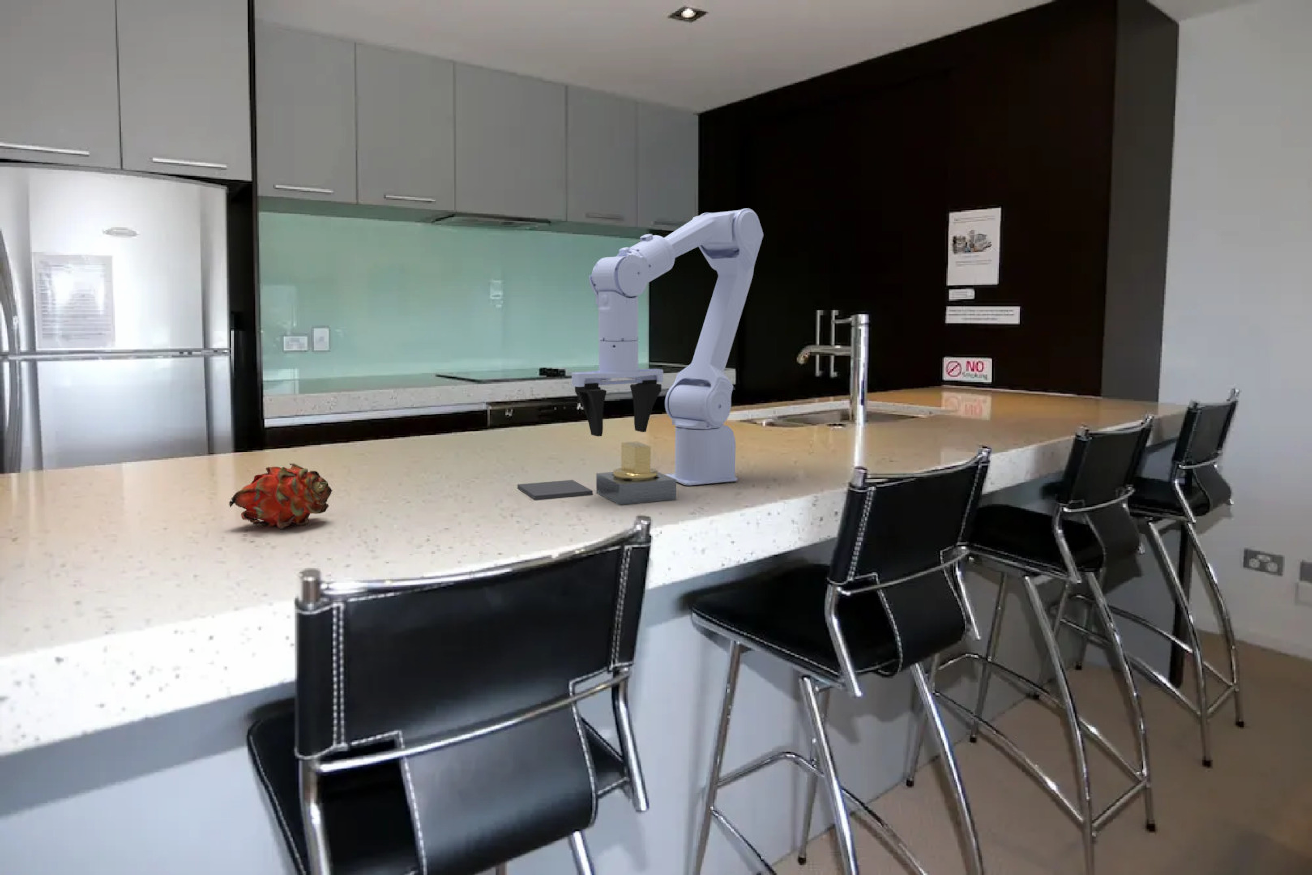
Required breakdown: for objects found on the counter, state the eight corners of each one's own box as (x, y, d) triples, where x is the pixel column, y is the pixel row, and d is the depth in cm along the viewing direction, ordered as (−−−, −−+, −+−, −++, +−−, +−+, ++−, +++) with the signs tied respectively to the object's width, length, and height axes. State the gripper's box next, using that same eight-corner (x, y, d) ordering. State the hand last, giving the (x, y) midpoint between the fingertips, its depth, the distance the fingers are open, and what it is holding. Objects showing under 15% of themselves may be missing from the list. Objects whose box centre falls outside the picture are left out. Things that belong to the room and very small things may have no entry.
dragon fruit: (342, 534, 109) (241, 556, 105) (334, 486, 115) (238, 505, 111) (330, 491, 103) (223, 512, 99) (323, 443, 109) (221, 461, 105)
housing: (650, 487, 132) (650, 468, 131) (676, 499, 123) (676, 479, 123) (596, 492, 128) (596, 473, 127) (619, 505, 120) (619, 484, 119)
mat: (572, 483, 134) (572, 479, 134) (592, 494, 126) (592, 490, 126) (517, 488, 131) (517, 484, 131) (534, 499, 123) (534, 495, 123)
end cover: (646, 488, 130) (646, 440, 129) (665, 497, 124) (665, 446, 123) (606, 492, 127) (606, 442, 126) (623, 501, 121) (623, 449, 120)
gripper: (644, 338, 130) (645, 426, 132) (561, 340, 122) (562, 433, 124) (671, 340, 124) (671, 431, 126) (585, 342, 116) (586, 440, 118)
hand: (618, 433), depth 124 cm, fingers open, 7 cm apart
